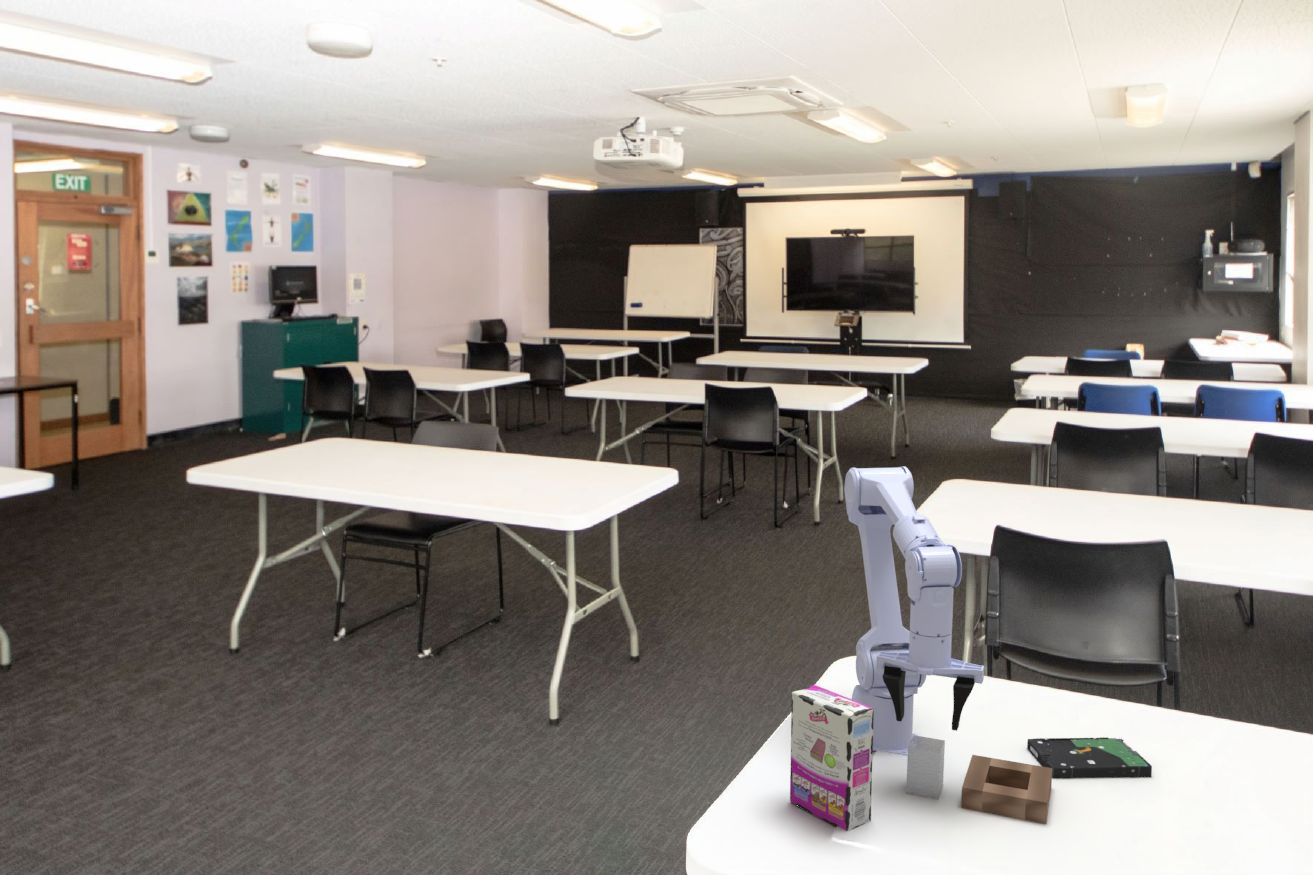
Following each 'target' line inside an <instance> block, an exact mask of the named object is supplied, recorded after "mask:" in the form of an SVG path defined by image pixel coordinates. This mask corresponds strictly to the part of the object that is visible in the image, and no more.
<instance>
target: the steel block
mask: <svg viewBox="0 0 1313 875" xmlns="http://www.w3.org/2000/svg"><path fill="white" fill-rule="evenodd" d="M912 736H913V737H912V740H911V742H910V744H909V746H908V756H907V762H906V764H907V766H906V767H907V770H906V795H910V796H916V797H921V798H925V799H926V798H927V799H930V800H931V799H932V800H935V801H936V800H937V801H939V798H940V795H941V793H942V790H943V788H944V773H945V772H944V770H945V769H944V768H945V767H944V766H945V744H946V743H945V741H946V740H944V739H939V738H931V737H926V736H920V735H918V736H915V735H912Z"/></svg>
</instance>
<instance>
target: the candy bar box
mask: <svg viewBox="0 0 1313 875" xmlns="http://www.w3.org/2000/svg"><path fill="white" fill-rule="evenodd" d="M790 719H791V720H790V721H791V725H790V732H791V734H790V775H789V776H790V777H789V778H790V782H789V783H790V784H789V786H790V787H789V788H790V789H789V791H790V792H789V802H790V801H791V802H792V803H794V804H795V805H794V804H793V805H794V806H796V805H798V806H799V807H798V806H797V807H798V808H800V807H801V808H803V809H804V810H803V809H802V810H803V811H805V810H806V811H805V812H807V811H808V812H807V813H809V814H811V815H813V816H814V815H815V816H814V817H816V816H817V818H818V817H819V819H820V820H823V821H824V822H826V823H827V824H829V825H832V826H833V827H835V828H837V826H838V827H839V828H840V829H842V830H845V831H847V832H849V831H851V830H854V829H856V828H858V827H860V826H863V825H865V824H867V823H869V822H872V821H871V820H872V790H873V789H872V784H873V782H872V780H873V755H874V754H873V752H874V751H873V719H874V708H872V707H869V706H867V705H864V704H862V703H859V702H857V701H854V700H852V698H849V697H847V696H844V695H842V694H839V693H836V692H833V691H831V690H828V689H826V688H823V687H821V686H819V685H817V684H814V685H810V686H808V687H804V688H801V689H798V690H795V691H792V692H791V718H790ZM791 802H790V803H791ZM792 803H791V804H792ZM801 808H800V809H801Z"/></svg>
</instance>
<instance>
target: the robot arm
mask: <svg viewBox="0 0 1313 875" xmlns="http://www.w3.org/2000/svg"><path fill="white" fill-rule="evenodd" d="M914 488H915V485H914V479H913V475H912V472H911V470H910V469H909V468H908V467H907V466H905V465H904V466H898V467H868V468H866V467H865V468H864V467H863V468H858V467H850V468H849V469H848V471H847V472H846V474H845V480H844V491H843V492H844V499H845V508H846V514H847V517H848V522H850V523H851V524H854V525H856V526H857V528H858V531H859V536H860V543H861V549H862V550H861V552H862V558H863V559H862V560H863V566H864V567H863V568H864V575H865V576H864V577H865V584H866V592H867V601H868V609H869V610H868V611H869V618H870V626H871V628H870V629H869V630H868V631H867V632H866V633H865V634H863V635H862V636H861V637H860V638H859V639H858V640H857V643H856V646H855V650H856V656H855V658H856V660H855V672H856V679H857V680H858V681H857V682H858V684H856V685H855V686H854V688H853V691H852V695H851V699H852V700H854V701H857V702H859V703H862V704H864V705H867V706H869V707H872V708H874V719H873V752H877V751H879V752H885V753H889V754H896V755H902V756H907V757H908V746H909V744H910V742H911V740H912V737H913V735H915V736H919V734H916V733H913V728H914V727H913V726H914V725H913V723H914V721H913V720H914V695H917V694H918V692H919V691H918V688H922V687H923V685H924V684H925V681H926V679H927V676H938V677H943V678H944V677H945V678H951V679H955V681H954V683H953V685H952V687H953V688H952V692H953V710H952V719H951V730H952V731H958V729H959V726H960V721H961V715H962V712H963V709H964V706H965V704H966V703H967V700H968V698H969V697H970V694H971V693H972V691H973V689H974V686H975V684H979V685H982V684H983V682H984V679H985V676H984V675H985V665H980V664H975V663H971V662H967V661H963V660H960V659H957V658H952V643H953V642H952V639H953V636H952V635H953V618H954V617H953V614H954V591H955V590H954V587H955V588H957V587H958V586H959V585H960V583H961V580H962V577H963V565H962V558H961V554H960V552H959V550H958V548H957V546H956V545H954V544H949V542H943V541H942V539H941V537H940V536H939V535H938V533H937V531H936V530H935V527H934V525H933V524H932V523H931V521H930V519H929V518H928V517H926V516H925V515H924V514H920V513H918V512H917V509H916V508H915V504H914V503H913V500H912V499H913V497H914V491H915V490H914ZM892 525H894V527H893V530H892V536H891V528H892ZM892 537H893V539H894V542H895V543H896V545H897V546H898V549H899V550H900V552H901V554H902V556H903V558H904V560H905V561H904V568H905V569H904V571H905V576H906V582H907V584H906V585H907V588H906V589H907V595H908V597H909V598H910V610H909V611H910V614H909V629H907V628H905V627H904V625H903V620H902V614H901V613H902V612H901V604H900V596H899V590H898V583H897V582H898V581H897V575H896V566H895V560H894V559H895V558H894V551H893V544H892V542H893V541H892Z"/></svg>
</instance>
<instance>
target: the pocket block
mask: <svg viewBox="0 0 1313 875" xmlns="http://www.w3.org/2000/svg"><path fill="white" fill-rule="evenodd" d="M1052 781H1053V778H1052V768H1048V767H1042V766H1041V765H1035V764H1029V763H1024V762H1018V761H1011V760H1007V759H1006V760H1005V759H1000V758H994V757H990V756H983V755H977V754H972V755H971V758H970V761H969V764H968V767H967V770H966V773H965V776H964V779H963V784H962V786H961V806H960V809H964V810H968V811H974V812H978V813H980V812H981V813H985V814H989V815H995V816H1001V817H1006V818H1011V819H1017V820H1022V821H1026V822H1033V823H1036V824H1042V825H1047V822H1048V814H1049V807H1050V800H1051V794H1052V785H1053V784H1052Z"/></svg>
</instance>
